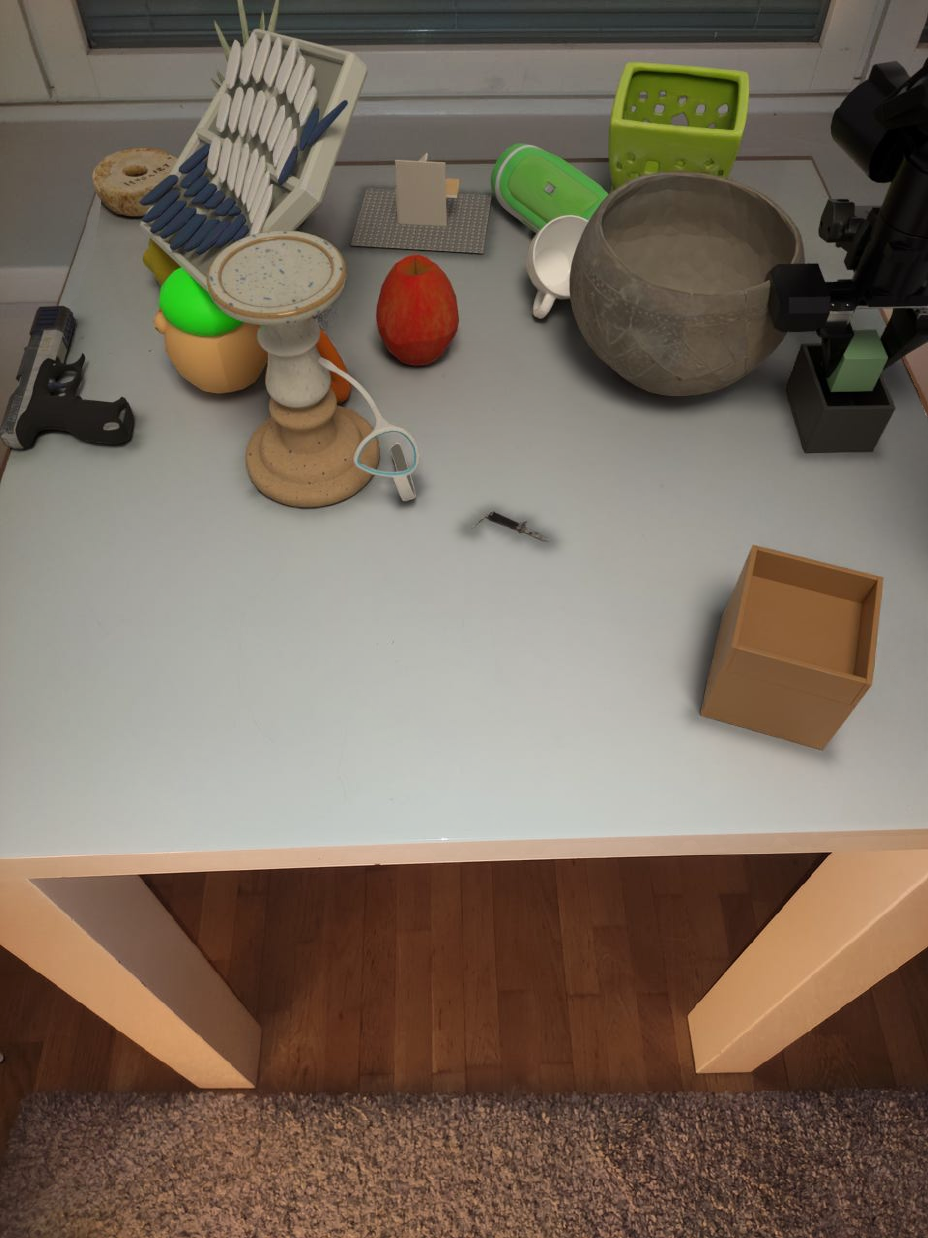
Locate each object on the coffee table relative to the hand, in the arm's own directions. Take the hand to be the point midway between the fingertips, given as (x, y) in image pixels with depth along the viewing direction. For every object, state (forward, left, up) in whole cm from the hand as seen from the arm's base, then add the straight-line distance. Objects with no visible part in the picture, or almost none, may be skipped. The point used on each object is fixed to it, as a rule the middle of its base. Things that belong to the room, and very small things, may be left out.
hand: (847, 374), depth 83 cm
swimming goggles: (+40, +23, 0) cm, 46 cm away
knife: (+25, +25, -6) cm, 35 cm away
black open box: (0, 0, -6) cm, 6 cm away
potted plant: (+65, -14, -6) cm, 66 cm away
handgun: (+65, +16, -4) cm, 67 cm away
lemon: (+66, +1, -6) cm, 66 cm away
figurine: (+58, +13, -6) cm, 60 cm away
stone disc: (+77, -10, -4) cm, 77 cm away
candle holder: (+45, +21, -6) cm, 49 cm away
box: (+1, +31, -6) cm, 31 cm away
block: (0, 0, 0) cm, 0 cm away
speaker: (+31, -23, 0) cm, 38 cm away
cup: (+31, -11, -4) cm, 33 cm away
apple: (+41, +4, -6) cm, 41 cm away
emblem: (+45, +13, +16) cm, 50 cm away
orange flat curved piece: (+45, +11, -6) cm, 47 cm away
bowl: (+17, -3, -6) cm, 18 cm away
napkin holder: (+48, -18, -6) cm, 52 cm away
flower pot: (+23, -29, -6) cm, 37 cm away
